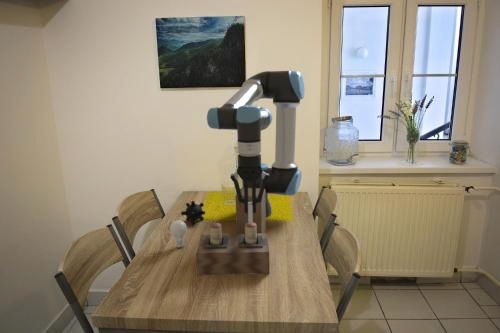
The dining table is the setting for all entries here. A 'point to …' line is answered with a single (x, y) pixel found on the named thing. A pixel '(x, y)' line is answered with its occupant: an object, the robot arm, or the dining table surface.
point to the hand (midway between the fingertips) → (250, 221)
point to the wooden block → (257, 217)
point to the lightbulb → (178, 232)
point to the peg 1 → (215, 234)
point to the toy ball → (193, 212)
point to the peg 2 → (250, 233)
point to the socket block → (233, 255)
